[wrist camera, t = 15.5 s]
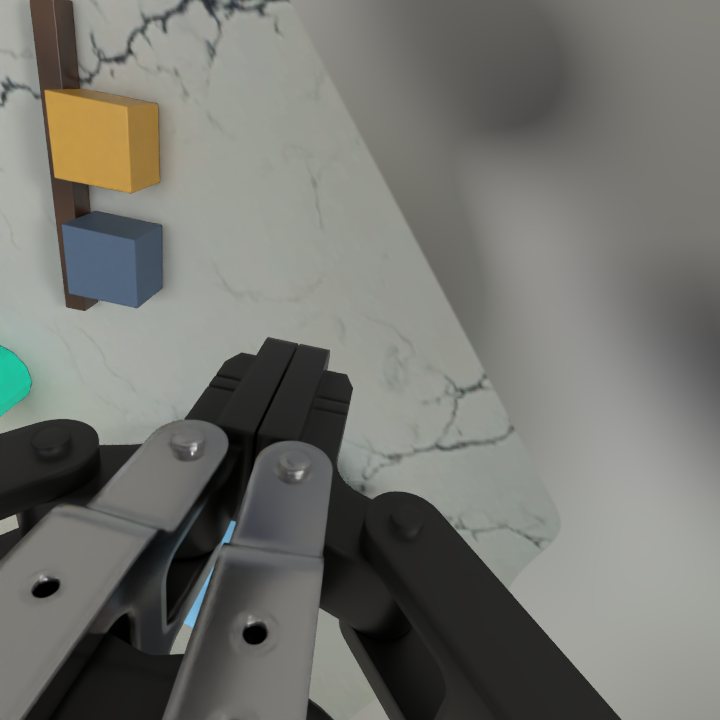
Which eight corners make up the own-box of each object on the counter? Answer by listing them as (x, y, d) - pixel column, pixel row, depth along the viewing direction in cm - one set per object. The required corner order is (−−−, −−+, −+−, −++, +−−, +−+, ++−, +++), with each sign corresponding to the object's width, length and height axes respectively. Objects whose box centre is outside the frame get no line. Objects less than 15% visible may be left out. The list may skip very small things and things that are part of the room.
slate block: (95, 210, 37) (60, 224, 33) (162, 225, 37) (134, 240, 33) (99, 274, 39) (68, 293, 36) (162, 288, 39) (137, 308, 36)
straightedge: (48, -4, 31) (28, -9, 29) (72, 1, 31) (53, -3, 29) (79, 298, 41) (65, 307, 39) (98, 302, 41) (85, 311, 39)
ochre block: (83, 88, 33) (43, 89, 30) (158, 103, 33) (127, 106, 30) (90, 168, 36) (53, 177, 32) (160, 182, 35) (131, 193, 32)
